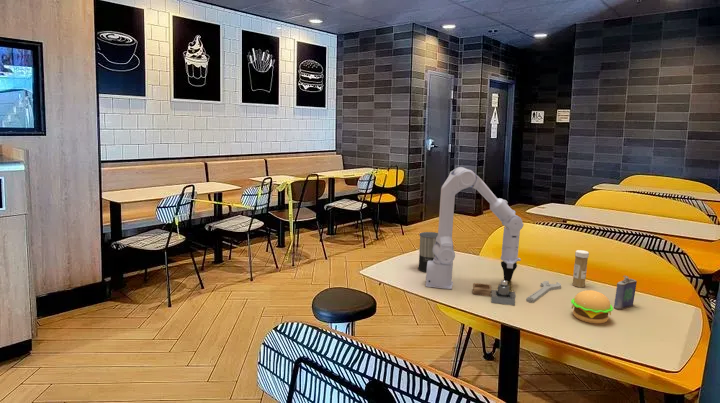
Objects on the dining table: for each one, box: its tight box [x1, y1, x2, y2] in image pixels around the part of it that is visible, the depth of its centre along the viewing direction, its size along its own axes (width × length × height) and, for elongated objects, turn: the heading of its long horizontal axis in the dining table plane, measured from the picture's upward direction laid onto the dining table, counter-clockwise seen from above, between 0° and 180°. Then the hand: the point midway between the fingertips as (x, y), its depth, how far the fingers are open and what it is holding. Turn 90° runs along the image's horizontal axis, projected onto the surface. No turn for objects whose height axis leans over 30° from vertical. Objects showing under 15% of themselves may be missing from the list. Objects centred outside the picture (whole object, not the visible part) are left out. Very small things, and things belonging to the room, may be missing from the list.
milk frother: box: [417, 231, 438, 273], centre depth 199 cm, size 14×16×15 cm
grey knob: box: [497, 279, 509, 297], centre depth 165 cm, size 4×4×7 cm
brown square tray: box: [472, 282, 492, 297], centre depth 172 cm, size 6×6×2 cm
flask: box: [613, 275, 638, 310], centre depth 162 cm, size 9×3×11 cm, turn 121°
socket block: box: [490, 289, 517, 306], centre depth 167 cm, size 8×11×2 cm
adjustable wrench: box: [526, 280, 562, 304], centre depth 174 cm, size 25×6×2 cm, turn 135°
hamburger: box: [570, 289, 614, 324], centre depth 152 cm, size 12×12×9 cm
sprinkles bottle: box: [571, 249, 590, 288], centre depth 182 cm, size 5×5×13 cm
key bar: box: [507, 280, 513, 292], centre depth 175 cm, size 2×7×2 cm, turn 166°
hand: (507, 281), depth 180 cm, fingers closed
